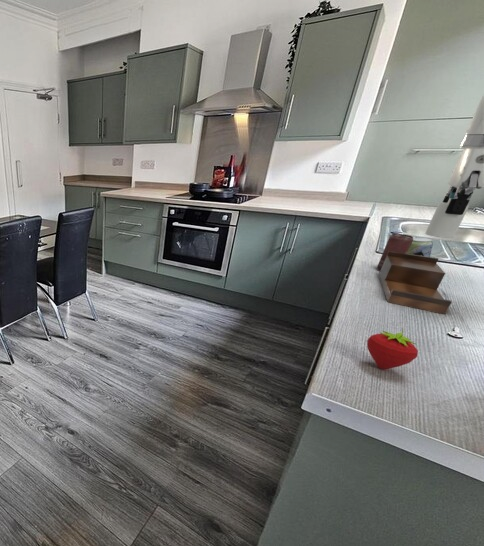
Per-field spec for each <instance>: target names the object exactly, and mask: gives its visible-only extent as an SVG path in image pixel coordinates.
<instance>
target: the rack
mask: <svg viewBox="0 0 484 546" xmlns="http://www.w3.org/2000/svg"><path fill="white" fill-rule="evenodd" d="M438 261H439V258H438V257H434V256H433V257H431V256H430V257H426V256H419V255H412V254H406V253H399V252H392V251H389V252H388V254H387V256H386V259H385V261H384V263H383V266H382V268H381V270H380V271H379V273H378V278H379V279H378V280H379V282H380V285H381V288H382V290H383V293H384V295H385V298H386V300H387V303H390V304H394V305H399V306H404V307H409V308H413V309H419V310H422V311H423V310H424V311H428V312H433V313H437V314H441V315H446V314H447V312H448V310H449V308H450V306H451V305H452V303H453V302H452V300H449V299H444V297H443V296H442V294H441V293H440V292H439V290H438V289H439V287H440V285H441V283H442V281H443V279H444V278H445V275H446V272H445V271H444V269H442V268H441V266H440V265H439V264H438Z"/></svg>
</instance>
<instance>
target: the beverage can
mask: <svg viewBox="0 0 484 546" xmlns="http://www.w3.org/2000/svg"><path fill="white" fill-rule="evenodd" d="M433 246H434V243H433V240H432V239H431V238H426V237H415V238H414V237H413V242H412V244H411V246H410V248H409V251H408V253H407V254H412V255H419V256H426V257H431V254H432V250H433Z"/></svg>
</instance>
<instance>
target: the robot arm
mask: <svg viewBox="0 0 484 546" xmlns="http://www.w3.org/2000/svg"><path fill="white" fill-rule="evenodd" d="M477 105H478V106H477V108H476V109H475V112H474V114H473V116H472V118H471V121H470V123H469V124H468V128H467V129H466V132H465V133H464V136H463V138H462V141H461V143H460V145H459V147H458V149H463V151H462V152H461V154H460V156H459V158H458V160H457V162H456V164H455V166H454V169H453V171H452V173H451V175H450V177H449V180H448V185H449V186H450V187H449V189H448V190H447V192H446V195H445V196H444V197H443V199H442V202H444V203H447V202H448V200H449V196H450V194H451V193H452V192H455V196H454V199H451V201H450V203H449V205H448V207H447V209H446V211H445V213H446V214H455V215H462V214H463V213H464V211H465V209H466V207H467V205H469V203H470V201H471V199H472V196H473V194H474V192H475V190H482V189H483V188H484V94H483V95H482V97H481V98H480V101H479V103H478V104H477Z"/></svg>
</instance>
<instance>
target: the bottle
mask: <svg viewBox="0 0 484 546" xmlns="http://www.w3.org/2000/svg"><path fill="white" fill-rule="evenodd" d="M454 196H455V192H452V193H451V194H450V196H449V200H448V202H447V203H444V202H443V201H442V202H438V204H437V206H436V209H435V211H434V213H433V215H432V217H431V220H430V221H429V223H428V226H427V228H426V230H425V233H424V234H425V235H427V236H430V237H434V238H441V239H454V238H455V235H456V234H457V232H458V229H459V228H460V225H461V223H462V221H463V220H464V217H465V215H467V214H466V213H467V212H468V209H469V208H470V204H468V205H467V207H466V209H465V211H464V213H463V214H462V215H455V214H446V213H445V211H446V209H447V207H448V205H449V203H450V201H451V199H454Z"/></svg>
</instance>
